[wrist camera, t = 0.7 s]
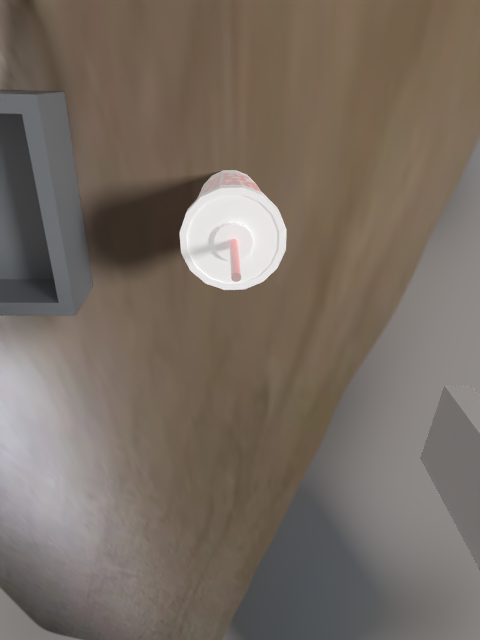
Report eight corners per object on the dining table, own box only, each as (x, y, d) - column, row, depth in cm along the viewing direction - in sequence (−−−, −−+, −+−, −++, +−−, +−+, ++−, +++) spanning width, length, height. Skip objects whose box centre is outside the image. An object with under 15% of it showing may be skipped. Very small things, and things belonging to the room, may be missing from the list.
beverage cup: (200, 248, 34) (190, 344, 22) (179, 169, 31) (153, 229, 19) (277, 231, 34) (309, 319, 22) (262, 149, 31) (290, 198, 19)
